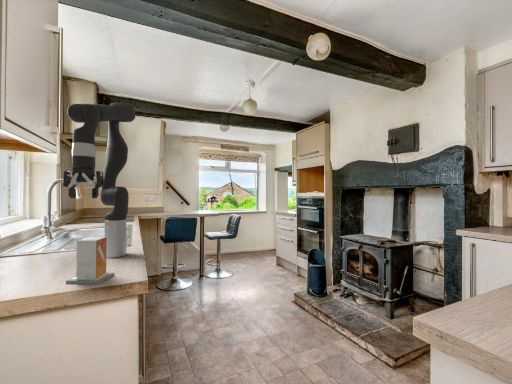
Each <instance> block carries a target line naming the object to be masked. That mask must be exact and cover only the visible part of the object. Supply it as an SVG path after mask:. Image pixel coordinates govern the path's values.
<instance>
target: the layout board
mask: <svg viewBox="0 0 512 384" xmlns="http://www.w3.org/2000/svg"><path fill="white" fill-rule="evenodd" d="M114 276H115V272H107V271H106V272H105V273H104V274H102V275H100V276H99V277H98V278H96V279H80V280H76V276H73V277H71V278H69V279H66V280H65V283H66V284H68V285H70V284H71V285H72V284H75V285H77V284H79V285H80V284H81V285H85V284H86V285H100V284H101V283H103V282H105V281H107V280H108V279H111V278H112V277H114Z"/></svg>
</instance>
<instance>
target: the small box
mask: <svg viewBox="0 0 512 384" xmlns="http://www.w3.org/2000/svg"><path fill="white" fill-rule="evenodd" d="M106 249H107V237H105V236H88V237H84V238H82V239H79V240H76V271H75V273H76V280H80V279H96V278H98V277H99V276H100V275H102V274H104V273H105V272H107V257H106Z"/></svg>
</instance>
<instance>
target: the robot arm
mask: <svg viewBox="0 0 512 384" xmlns="http://www.w3.org/2000/svg"><path fill="white" fill-rule="evenodd" d="M66 114H67V116H68V118H69V119H70V120H71V121H72V122H73V123H74V122H75V123H77V124H78V123H79V124H81V123H82V124H83V125H82V126H80V127H76V128H74V129H73V130H72V147H71V167H72V171H69V170H64V171H63V181H62V182H63V183H62V184H63V185H62V186H63V187H65V188H68V197H69V199H76V197H77V196H76V195H77V191H76V190H77V186H78V185H79V184H80V183H87V184H89V185H90V186H91V187H92V188H91V199H97V198H98V197H99V188H100V189H101V190H100V201H101V203H102V204H103V205H105V206H107V207H108V206H109V207H110V206H113V209H112V211H110V212H108V213H106V214H105V215H104V237H107V249H106V259H107V258H111V259H112V258H119V257H124V256H126V255H127V251H128V247H127V246H128V245H127V244H128V240H127V239H128V235H127V216H128V213H129V200H130V199H129V196H130V195H129V191H128V189H127V187H125V186H116V184H117V178H118V176H119V174H120V173H121V171H122V170H123V169H124V168H125V166H126V164H127V161H128V155H129V154H128V153H129V147H128V145H127V143H126V140H125V139H124V138H123V136H122V134H121V132H120V123H131V122H133V121H134V120H135V119H136V110H135V108H134V106H133V105H132V104H131V103H127V102H111V103H110V104H96V103H94V104H93V103H72V104H70V105H69V106H68V107H67V110H66ZM100 122H101V123H102V122H103V123H104V122H107V123H108V127H107V128H108V130H107V132H108V133H107V142H106V143H107V144H106V153H105V166H104V171H101V170H97V171H95V169H96V147H95V145H96V142H95V140H96V139H95V138H96V136H95V135H96V132H97V129H98V126H99V123H100ZM95 178H96V179H95Z"/></svg>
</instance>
